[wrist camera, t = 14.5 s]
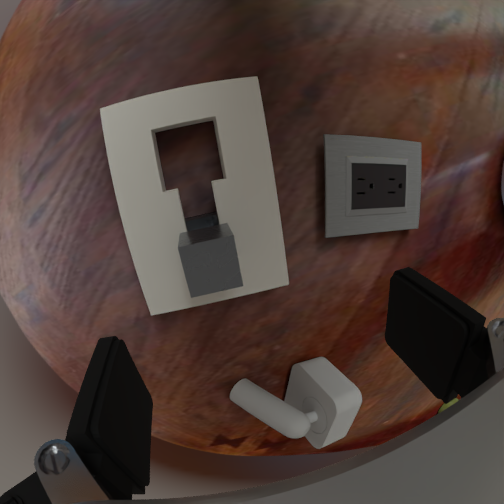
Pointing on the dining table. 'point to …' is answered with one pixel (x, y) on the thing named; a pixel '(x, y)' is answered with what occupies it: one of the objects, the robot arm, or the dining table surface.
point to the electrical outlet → (371, 185)
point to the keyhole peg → (209, 256)
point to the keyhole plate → (225, 190)
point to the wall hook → (305, 403)
